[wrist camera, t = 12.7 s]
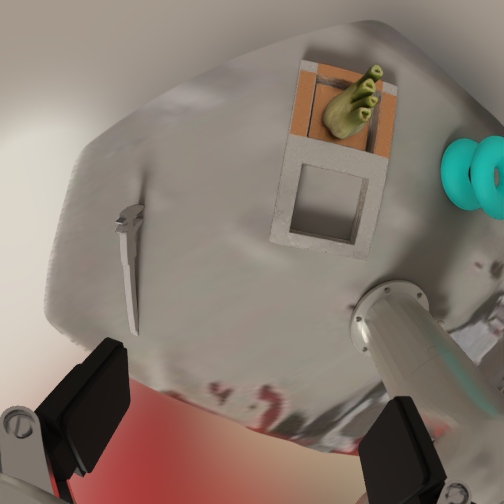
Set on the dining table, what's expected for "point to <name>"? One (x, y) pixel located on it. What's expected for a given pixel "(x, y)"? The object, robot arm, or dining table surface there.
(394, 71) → the dining table surface
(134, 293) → the caliper
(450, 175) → the donuts
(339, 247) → the orange and grey tray
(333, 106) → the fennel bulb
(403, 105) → the dining table surface
